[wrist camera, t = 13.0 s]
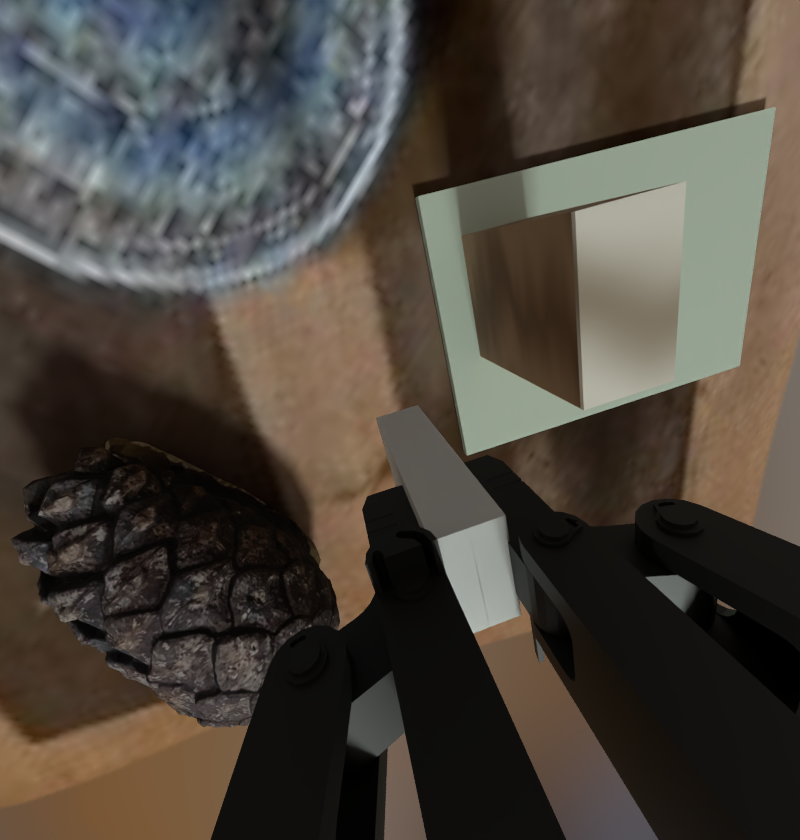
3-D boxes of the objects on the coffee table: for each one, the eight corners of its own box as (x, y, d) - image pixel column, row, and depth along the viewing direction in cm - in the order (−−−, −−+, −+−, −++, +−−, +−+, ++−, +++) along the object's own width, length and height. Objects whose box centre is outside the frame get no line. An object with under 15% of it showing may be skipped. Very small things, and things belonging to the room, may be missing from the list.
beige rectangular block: (461, 235, 21) (575, 211, 12) (527, 217, 21) (686, 181, 12) (480, 356, 24) (583, 410, 15) (538, 338, 24) (674, 380, 15)
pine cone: (114, 398, 21) (-39, 498, 12) (360, 541, 28) (384, 672, 19) (16, 529, 22) (-186, 709, 13) (274, 634, 29) (257, 797, 20)
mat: (415, 198, 20) (418, 196, 20) (764, 110, 23) (775, 106, 22) (463, 451, 27) (467, 455, 26) (731, 364, 29) (739, 366, 29)
